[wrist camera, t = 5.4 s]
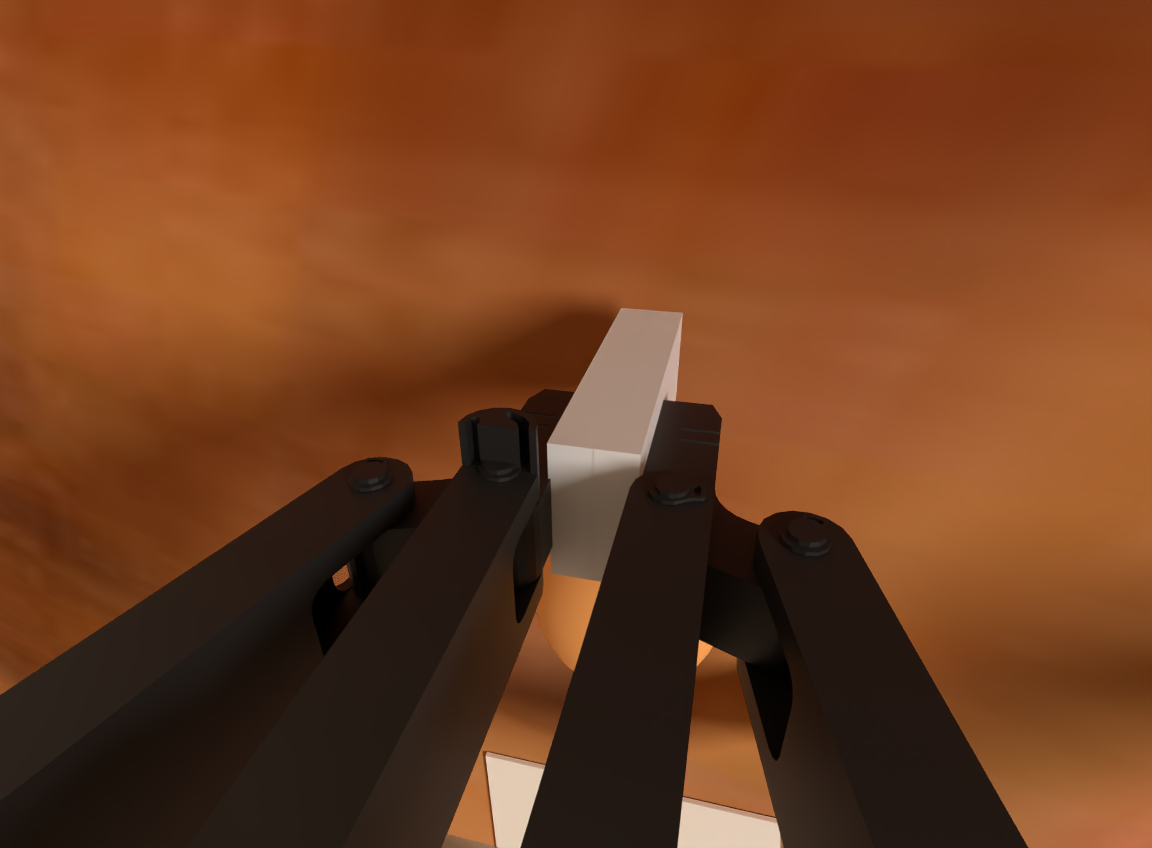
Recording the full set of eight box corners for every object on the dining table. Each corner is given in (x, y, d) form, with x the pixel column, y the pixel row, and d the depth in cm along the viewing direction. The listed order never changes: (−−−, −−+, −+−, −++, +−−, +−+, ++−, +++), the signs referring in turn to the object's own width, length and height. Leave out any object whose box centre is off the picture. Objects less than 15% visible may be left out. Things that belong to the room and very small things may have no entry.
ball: (737, 592, 15) (737, 469, 19) (503, 558, 16) (558, 450, 20) (714, 755, 17) (719, 610, 22) (513, 716, 18) (560, 586, 23)
